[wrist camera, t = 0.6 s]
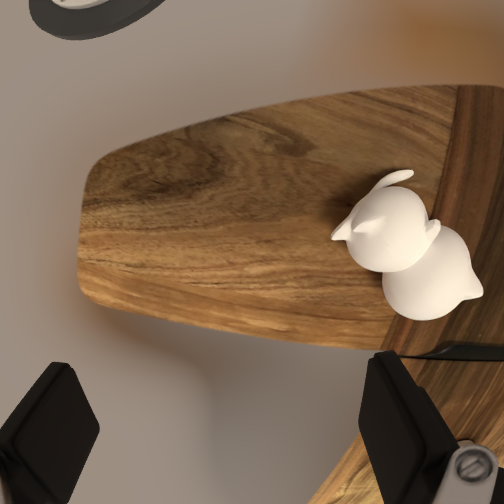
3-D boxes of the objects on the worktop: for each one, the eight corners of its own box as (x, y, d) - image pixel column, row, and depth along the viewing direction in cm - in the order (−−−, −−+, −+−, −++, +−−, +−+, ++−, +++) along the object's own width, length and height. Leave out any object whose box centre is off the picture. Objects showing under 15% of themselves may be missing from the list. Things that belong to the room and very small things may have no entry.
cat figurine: (377, 228, 16) (477, 340, 18) (423, 122, 20) (503, 229, 21) (302, 256, 24) (398, 338, 26) (357, 166, 28) (435, 247, 30)
